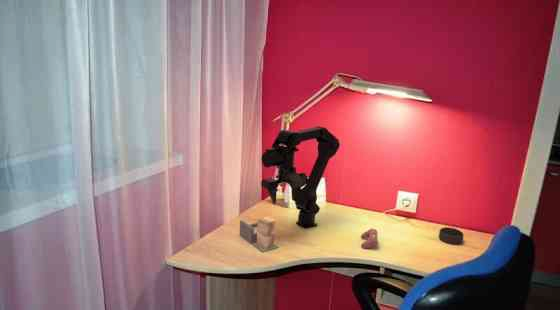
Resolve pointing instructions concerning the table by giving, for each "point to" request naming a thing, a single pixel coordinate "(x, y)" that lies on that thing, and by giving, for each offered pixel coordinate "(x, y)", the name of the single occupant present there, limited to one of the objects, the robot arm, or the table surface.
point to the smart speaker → (451, 235)
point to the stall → (248, 231)
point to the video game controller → (372, 238)
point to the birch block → (265, 232)
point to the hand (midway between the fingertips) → (283, 202)
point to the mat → (263, 248)
